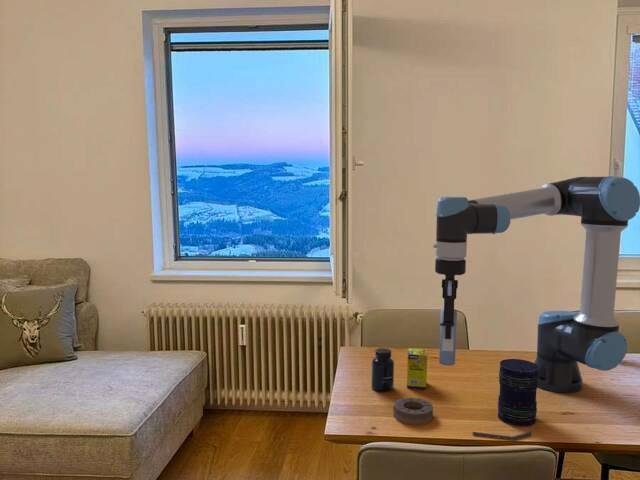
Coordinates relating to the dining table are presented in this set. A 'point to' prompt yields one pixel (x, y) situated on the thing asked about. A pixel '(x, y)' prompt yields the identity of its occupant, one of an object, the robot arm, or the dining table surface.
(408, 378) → the supplement box
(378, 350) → the supplement bottle
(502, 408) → the storage jar
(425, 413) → the bead
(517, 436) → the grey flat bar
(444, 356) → the round-tipped blue peg
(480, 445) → the dining table surface
